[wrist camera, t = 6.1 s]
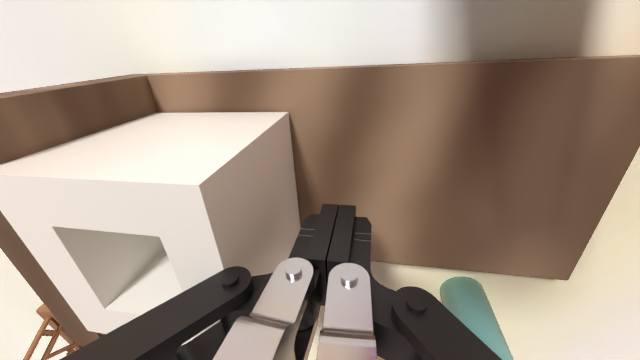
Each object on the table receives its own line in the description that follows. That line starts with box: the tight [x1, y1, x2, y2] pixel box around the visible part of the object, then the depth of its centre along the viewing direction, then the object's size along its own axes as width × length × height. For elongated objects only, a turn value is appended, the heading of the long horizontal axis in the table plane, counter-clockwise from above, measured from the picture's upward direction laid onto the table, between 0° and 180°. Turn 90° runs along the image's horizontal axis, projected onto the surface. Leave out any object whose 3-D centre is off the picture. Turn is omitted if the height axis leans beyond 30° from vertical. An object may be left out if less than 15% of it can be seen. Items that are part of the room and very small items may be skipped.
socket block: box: [0, 112, 301, 345], centre depth 13 cm, size 8×8×8 cm
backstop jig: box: [0, 55, 640, 347], centre depth 12 cm, size 26×12×9 cm, turn 92°
